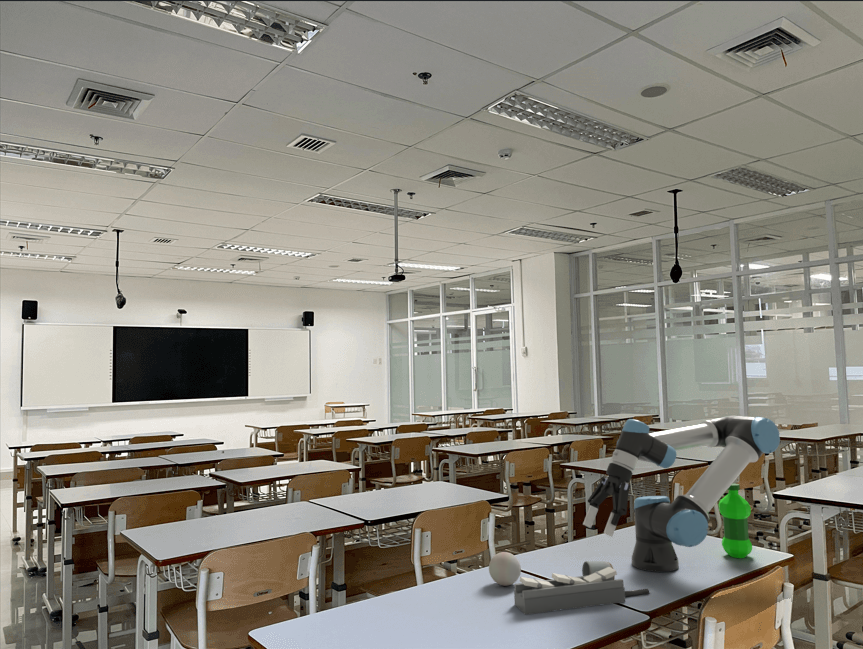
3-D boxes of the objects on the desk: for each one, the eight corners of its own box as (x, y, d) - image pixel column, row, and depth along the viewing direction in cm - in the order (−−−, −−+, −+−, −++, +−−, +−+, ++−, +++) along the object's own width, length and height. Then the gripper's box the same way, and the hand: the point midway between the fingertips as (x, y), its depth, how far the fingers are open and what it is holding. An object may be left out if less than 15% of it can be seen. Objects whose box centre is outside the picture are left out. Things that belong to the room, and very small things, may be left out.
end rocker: (547, 586, 184) (548, 581, 184) (553, 591, 179) (554, 586, 180) (519, 581, 182) (520, 576, 182) (525, 585, 177) (526, 580, 178)
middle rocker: (578, 582, 186) (579, 577, 186) (585, 587, 182) (586, 582, 182) (551, 577, 184) (552, 572, 184) (557, 582, 180) (558, 577, 180)
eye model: (491, 579, 206) (490, 547, 207) (522, 580, 204) (521, 548, 205) (487, 589, 196) (486, 556, 197) (520, 590, 194) (519, 557, 195)
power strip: (640, 589, 193) (639, 568, 193) (655, 597, 185) (654, 576, 185) (514, 604, 183) (513, 583, 183) (525, 614, 175) (524, 592, 175)
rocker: (610, 570, 189) (608, 566, 189) (617, 575, 184) (616, 570, 184) (583, 581, 186) (582, 577, 186) (591, 586, 182) (589, 581, 182)
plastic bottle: (724, 550, 230) (720, 481, 232) (756, 554, 224) (751, 483, 226) (718, 557, 222) (713, 485, 224) (751, 561, 216) (746, 487, 218)
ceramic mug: (616, 588, 194) (615, 562, 194) (591, 590, 192) (590, 564, 193) (602, 578, 204) (600, 554, 205) (578, 580, 203) (576, 556, 203)
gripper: (593, 458, 211) (569, 518, 207) (632, 465, 187) (606, 533, 182) (611, 467, 212) (588, 527, 208) (653, 476, 188) (628, 544, 183)
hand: (596, 530), depth 195 cm, fingers open, 13 cm apart
